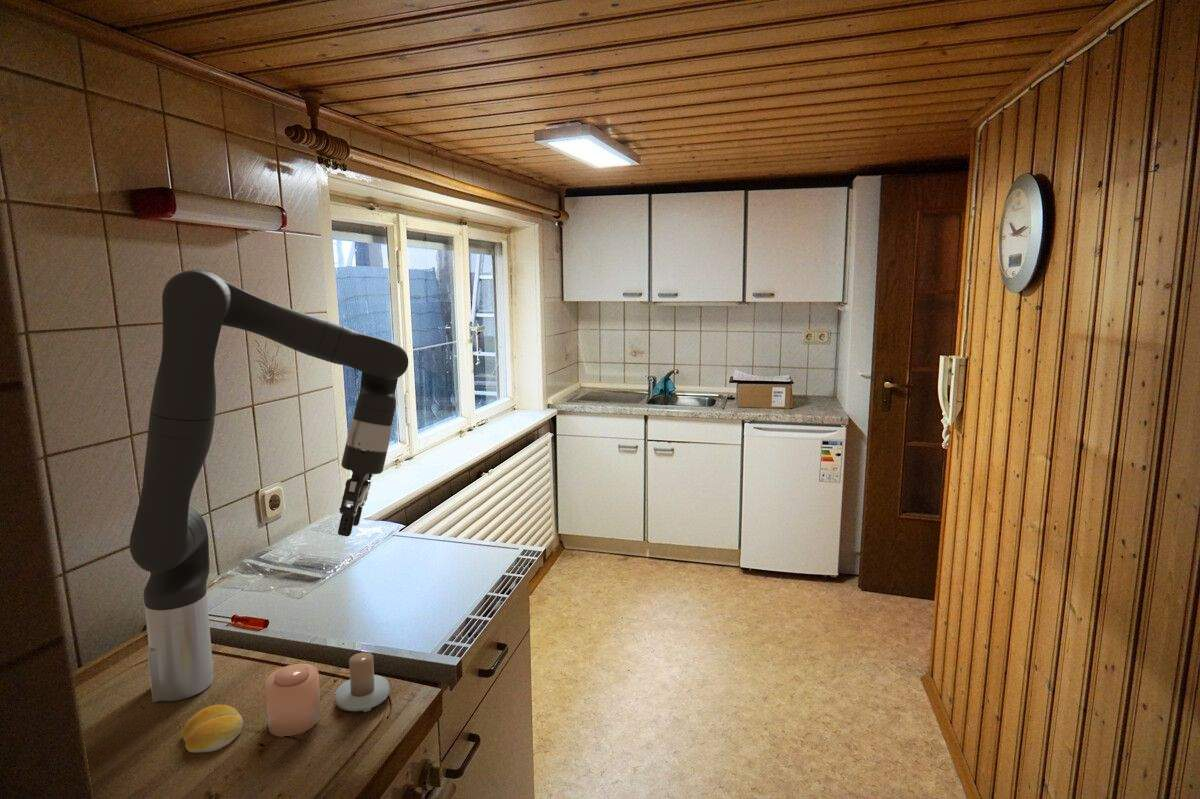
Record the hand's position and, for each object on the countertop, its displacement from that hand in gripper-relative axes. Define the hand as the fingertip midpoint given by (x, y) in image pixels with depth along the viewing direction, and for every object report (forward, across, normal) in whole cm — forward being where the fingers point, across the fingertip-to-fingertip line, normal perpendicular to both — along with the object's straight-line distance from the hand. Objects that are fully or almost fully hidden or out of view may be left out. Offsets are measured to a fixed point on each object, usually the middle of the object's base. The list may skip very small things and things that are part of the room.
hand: (348, 530), depth 119 cm
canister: (+30, +12, 0) cm, 32 cm away
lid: (+27, +8, +10) cm, 30 cm away
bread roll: (+34, +13, -12) cm, 38 cm away
